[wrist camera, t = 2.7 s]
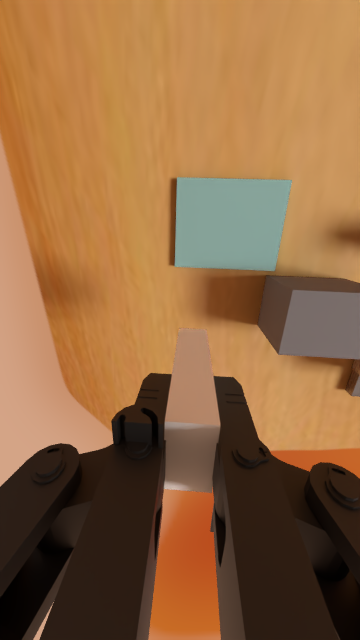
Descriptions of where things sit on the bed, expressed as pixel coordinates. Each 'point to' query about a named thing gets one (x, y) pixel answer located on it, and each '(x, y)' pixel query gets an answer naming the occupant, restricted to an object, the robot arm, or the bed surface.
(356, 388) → the channel
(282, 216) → the mat
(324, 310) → the grey rectangular block
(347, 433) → the bed surface
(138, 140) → the bed surface
